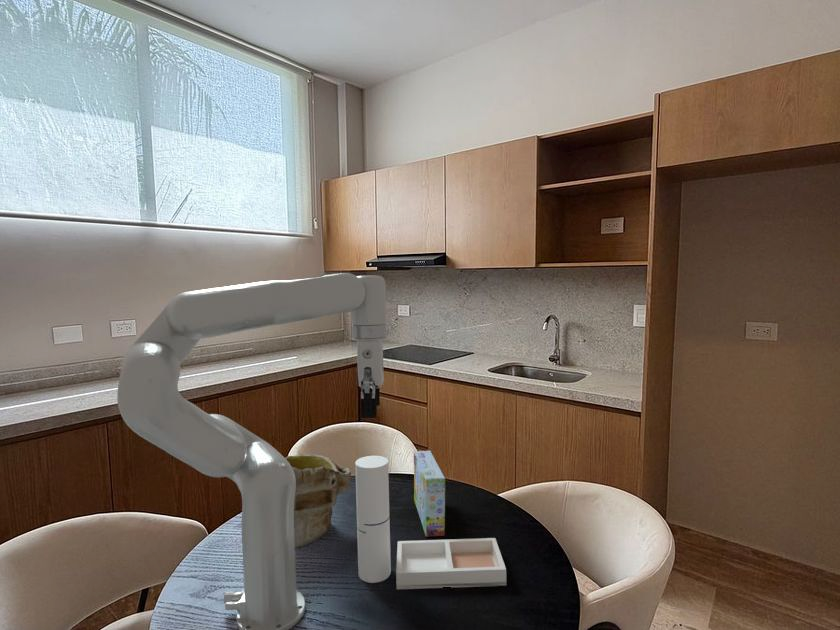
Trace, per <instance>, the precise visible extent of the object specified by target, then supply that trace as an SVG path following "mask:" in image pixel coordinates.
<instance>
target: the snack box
mask: <svg viewBox="0 0 840 630" xmlns="http://www.w3.org/2000/svg"><path fill="white" fill-rule="evenodd" d="M413 476H414V477H413V501H414V504H415V507H416V509H417V514H418V516H419V519H420V522H421V526H422V529H423V532H424V535H425V537H426V538H427V537H428V538H429V537H443V536H446V534H445V533H446V530H445V529H446V477H445V476H444V474H443V472H442V471H441V468H440V467H439V465H438V463H437V461H436V459H435V457H434V455H433V454H432V451H431V450H419V451H413Z"/></svg>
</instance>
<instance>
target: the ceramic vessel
mask: <svg viewBox="0 0 840 630" xmlns="http://www.w3.org/2000/svg"><path fill="white" fill-rule="evenodd" d="M284 458H285V459H286V460H287V461H288V462H289V464H290V465H291V467H292V469H293V471H294V474H295V479H296V491H295V500H294V535H295V549H298V548H301V547H304V546H308V545H309V544H310V543H312V542H314V541H317V540H318V539H320V538H321V537H323V536H324V535H325V534H326V533H327V532H328V531H329V529H330V527H331V525H332V515H333V507H334V506H335V505H336V504H337V499H338V497H337V496H339V495H342V494H346V493H347V492H348V491H349V489H350V487H351V477H352V476H351V475H352V472H351V470H350V467H346V466H345V467H344V466H342V467H341V466H339V465H337V464H336V463H335V461H333V460H332V459H331V458H330V457H328V456H326V455H321V454H314V453H310V454H297V455H289V456H286V457H284Z"/></svg>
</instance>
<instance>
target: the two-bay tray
mask: <svg viewBox="0 0 840 630" xmlns="http://www.w3.org/2000/svg"><path fill="white" fill-rule="evenodd" d="M396 549H397V550H396V567H395V575H396V577H395V579H396V581H395V583H396V590H417V589H418V590H419V589H443V587H451V588H473V587H474V588H475V587H479V588H480V587H500V586H503V587H505V586H507V568H506V565H505V562H504V559H503V556H502V553H501V550H500V548H499V545H498V541H497V539H496V537H486V538H485V537H482V538H481V537H480V538H458V539H457V538H455V539H452V538H451V539H427V540H426V539H424V540H397V548H396Z"/></svg>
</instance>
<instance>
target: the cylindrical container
mask: <svg viewBox="0 0 840 630" xmlns="http://www.w3.org/2000/svg"><path fill="white" fill-rule="evenodd" d="M354 465H355V467H354V468H355V499H356V501H355V502H356V532H357V533H356V535H357V537H356V538H357V564H358V565H357V566H358V567H357V568H358V573H357V574H358V577H359V579H360V580H361V581H363V582H365V583H369V584H375V583H376V584H377V583H380V582H384V581H385V580H387V579H388V578H389V577H390V575H391V574H392V573H391V572H392V567H391V566H392V564H391V561H392V560H391V531H390V530H391V526H390V523H391V522H390V487H389V481H390V480H389V479H390V478H389V459H388V458H387V457H385V456H381V455H367V456H363V457H359V458H358V459H356V461H355V463H354Z"/></svg>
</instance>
